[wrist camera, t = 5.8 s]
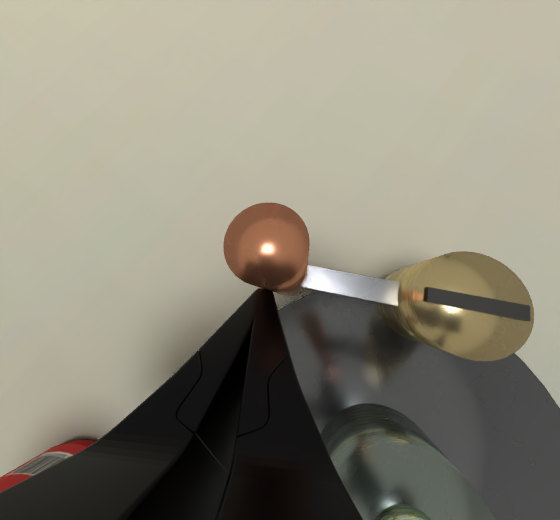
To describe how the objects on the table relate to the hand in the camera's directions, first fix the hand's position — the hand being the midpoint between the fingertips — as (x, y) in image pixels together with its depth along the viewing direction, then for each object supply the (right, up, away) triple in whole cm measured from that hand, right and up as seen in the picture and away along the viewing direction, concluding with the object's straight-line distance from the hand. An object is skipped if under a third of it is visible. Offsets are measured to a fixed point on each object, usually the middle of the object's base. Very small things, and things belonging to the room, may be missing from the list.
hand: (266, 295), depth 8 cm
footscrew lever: (+6, -1, +5) cm, 7 cm away
